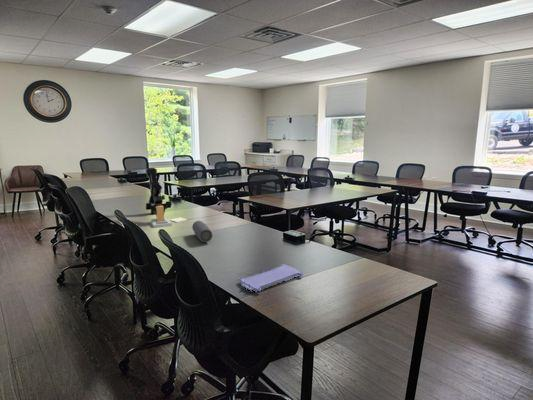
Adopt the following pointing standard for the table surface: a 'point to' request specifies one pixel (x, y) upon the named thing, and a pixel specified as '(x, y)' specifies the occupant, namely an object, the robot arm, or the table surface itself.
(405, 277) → the table surface
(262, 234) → the table surface
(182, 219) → the pad
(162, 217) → the module
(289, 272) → the light purple flat block
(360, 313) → the table surface
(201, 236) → the bluetooth speaker
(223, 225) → the table surface
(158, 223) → the dock
